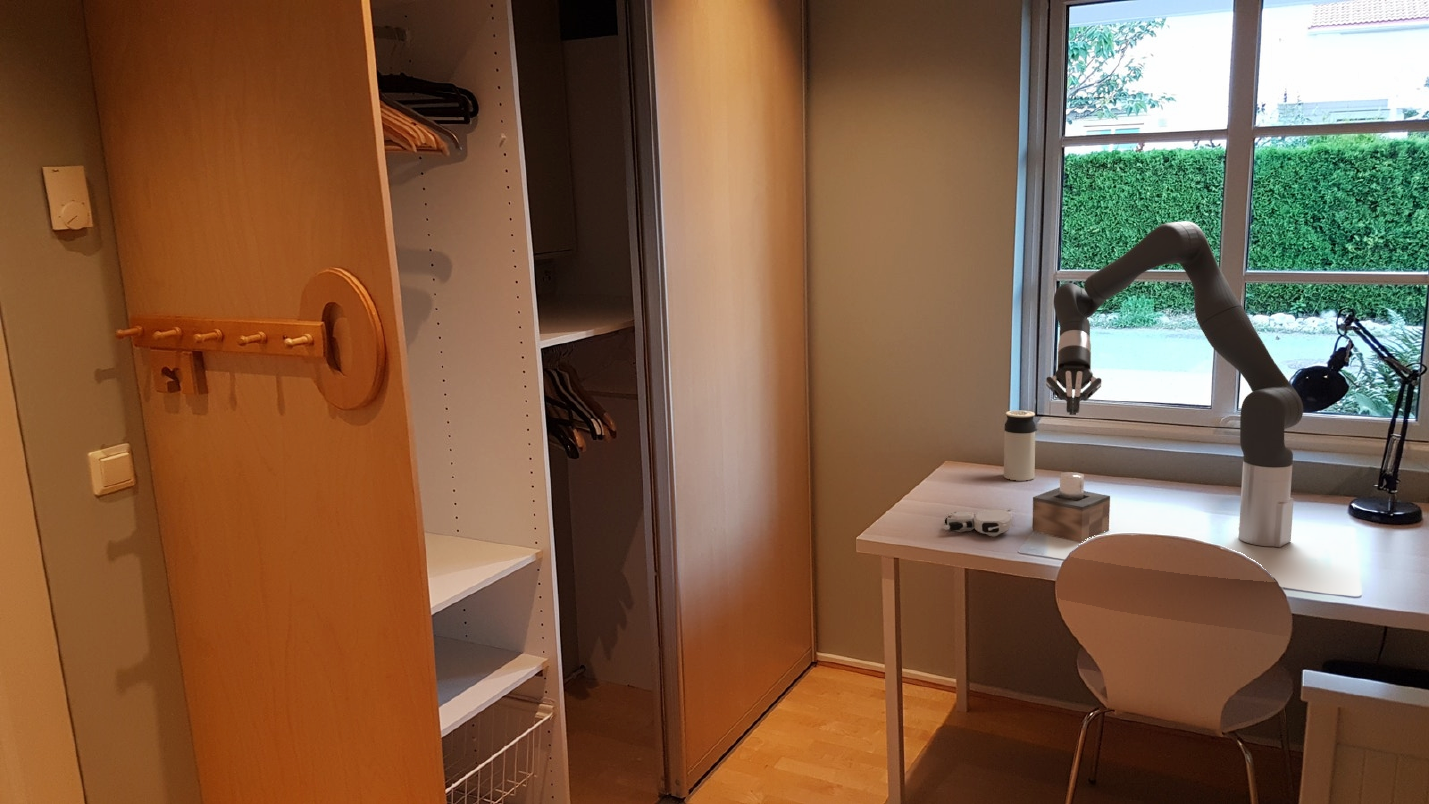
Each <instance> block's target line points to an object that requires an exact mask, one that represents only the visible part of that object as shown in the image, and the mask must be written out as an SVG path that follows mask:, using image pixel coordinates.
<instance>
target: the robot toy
mask: <svg viewBox="0 0 1429 804" xmlns="http://www.w3.org/2000/svg"><path fill="white" fill-rule="evenodd" d="M1010 512H1012V509H1011V508H1010V509H1007V510H1005V509H983V510H980V511H979V512H978V513H976V514H974V512H973V511H954V512H953V513H949V514H948V515H947V516H946V517H945V518H944V524H942V527H941V528H942V529H943V530H947V531H948V530H949V531H950V532H955V531H956V532H957V533H964V532H970V531H972V530H973V529H975V530H976V531H977V532H978V533H980V534H986V535H987V536H988V537H997V536H999V535H1000V534H1002V533H1006V532H1007V531H1008V530H1010V529H1011V527H1012V526H1013V516H1012V514H1011V513H1010Z"/></svg>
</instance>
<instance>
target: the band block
mask: <svg viewBox="0 0 1429 804" xmlns="http://www.w3.org/2000/svg"><path fill="white" fill-rule="evenodd" d="M1110 508H1111V495H1107V494H1101V493H1097V492H1091V491H1086V490H1084V492H1083V499H1082V500H1079V501H1077V502H1076V501H1071V500H1066V499H1061V498H1060V486H1059V487H1057V488H1054V489H1051V490H1048V491H1046V492H1043V493H1040V494H1038V495H1035V496H1033V497H1032V530H1031V531H1032V532H1035V533H1039V534H1043V535H1047V536H1051V537H1056V538H1061V539H1065V540H1069V541H1074V542H1078V543H1081V542H1082V541H1084V540H1085V539H1087V538H1089V537H1092V536H1094V535H1097V536H1099V535H1102V534H1104V533H1105V532H1104V531H1106V532H1109V531H1110V511H1111V509H1110ZM1084 542H1085V541H1084ZM1082 543H1083V542H1082Z"/></svg>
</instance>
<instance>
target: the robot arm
mask: <svg viewBox="0 0 1429 804" xmlns="http://www.w3.org/2000/svg"><path fill="white" fill-rule="evenodd" d="M1209 243H1210V242H1209V240H1208V239H1207V237H1206V235H1205V233H1204V231H1203V230H1202V229H1201V228H1200V226H1199V225H1197V224H1196V223H1194V222H1192V221H1188V220H1183V221H1173V222H1166V223H1162V224H1160V225H1158V226H1157V227H1155V228H1154V229H1152V230H1151V231H1150V232H1149V233H1148V234H1147V235H1146V236H1144V238H1142V239H1141V240H1140V241H1139V242H1137V244H1136V245H1134V246H1133V247H1132V248H1131V249H1130V250H1129V251H1127V252H1126V253H1124V254H1123V255H1122V256H1120V257H1118V259H1116V260H1114V261H1113V262H1110V263H1109V264H1108V265H1106V266H1104V267H1102V268H1101V269H1099V270H1097V271H1095V272H1094V273H1092V274H1091V275H1090V276H1088V277H1087V278H1086V279H1085V281H1084V283H1083V284H1084V285H1083V286H1084V287H1080V286H1079V285H1077V284H1074V283H1072V282H1066V283H1063V284H1061V285H1060V286H1059V287H1057V289H1056V290H1055V293H1054V295H1053V308H1054V313H1055V315H1056V319H1057V322H1058V324H1059V340H1058V345H1057V369H1056V371H1055V373H1054V375H1053V376H1047V377H1046V378H1045V379H1046V382H1045V384H1046V385H1045V386H1046V387H1047V388H1048V389H1049V390H1050V392H1052V394H1054V395H1055V397H1057V398H1058V399H1059V400H1060V401H1062V400H1063V401H1064V400H1065V402H1066V407H1065V409H1066V413H1069V416H1070V415H1071V416H1076V415H1077V414H1078V413H1079V412H1080V402H1081V401H1084V402H1085V401H1088V400H1089V399H1090V398H1091V397H1092V396H1093V395H1095V393H1096V392H1097V391H1098V390H1099V389H1100V388H1101V387H1102V381H1103V380H1102V378H1100V377H1097V378H1096V377H1095V376H1093V375H1094V374H1093V372H1092V370H1091V369H1092V368H1091V367H1092V362H1091V361H1092V359H1091V358H1092V351H1091V350H1092V344H1091V324H1090V323H1091V322H1090V321H1089V318H1090V317H1092V316H1093V315H1094V314H1095V313H1096V312H1097V310H1098V309H1099V308H1101V306H1102V305H1103V304H1104V303H1105V302H1106V301H1107V300H1108V299H1110V298H1112V297H1113V296H1116V295H1117V294H1119V293H1121V292H1122V291H1124V290H1125V289H1127V288H1128V287H1129V286H1131V284H1132V283H1133V282H1135V280H1136V279H1137V278H1138V277H1139V276H1141V275H1142V274H1144V273H1147V272H1148V271H1149V270H1153V269H1155V268H1158V267H1161V266H1164V265H1175V264H1180V265H1181V267H1182V269H1183V271H1184V272H1185V273H1186V275H1187V277H1188V279H1189V281H1190V283H1191V285H1192V288H1193V294H1194V298H1193V299H1194V314H1195V319H1196V321H1197V324H1198V326H1199V327H1200V329H1201V331H1202V333H1203V335H1204V337H1205V338H1206V339H1207V340H1206V341H1208V343H1209V344H1210V346H1211V347H1212V349H1213V350H1214V351H1216V353H1217V354H1218V355H1219V356H1220V357H1222V358H1223V359H1224V360H1226V361H1227V363H1229V364H1230V365H1231V366H1232V367H1233V368H1235V369H1236V371H1237V372H1239V373H1240V374H1241V376H1242V377H1243V378H1244V380H1245V381H1246V383H1247V384H1248V386H1249V388H1250V390H1251V392H1250V393H1249V394H1247V395H1246V396H1245V397H1244V400H1243V402H1242V405H1241V408H1240V414H1239V415H1240V416H1239V418H1240V420H1239V443H1240V444H1239V445H1240V448H1241V451H1242V453H1243V455H1242V457H1243V459H1242V460H1243V462H1242V475H1241V491H1240V492H1241V495H1240V506H1239V507H1240V508H1239V509H1240V510H1239V524H1238V526H1239V527H1238V539H1239V540H1240V541H1242V542H1244V543H1247V544H1250V545H1254V546H1255V545H1256V546H1260V547H1276V548H1282V547H1283V546H1285V545H1286V544H1288V543H1290V542H1291V541H1292V527H1293V526H1292V525H1293V514H1294V498H1293V497H1291V491H1292V488H1291V487H1292V476H1293V474H1292V473H1293V464H1294V462H1293V461H1294V453H1293V451H1292V450H1291V449H1289V448H1288V447H1286V445H1285V430H1286V429H1289V428H1292V427H1295V426H1296V425H1297V424H1298V423H1300V421H1301V420H1302V418H1303V416H1304V405H1303V401H1302V399H1301V397H1300V395H1299V394H1298V392H1297V391H1296V389H1295V388H1294V386H1293V385H1292V384H1291V382H1290V381H1289V380H1288V378H1287V377H1286V376H1285V374H1284V373H1283V371H1282V370H1281V369H1280V368H1279V366H1278V365H1277V364H1276V362H1275V361H1274V359H1273V357H1272V356H1271V354H1270V352H1269V350H1268V349H1267V348H1266V345H1265V344H1264V342H1263V340H1262V338H1261V336H1260V335H1259V334H1258V332H1257V330H1256V329H1255V327H1254V325H1253V323H1252V321H1251V319H1250V318H1249V316H1248V314H1247V312H1246V311H1245V309H1244V307H1243V306H1242V305H1243V304H1241V302H1240V301H1239V299H1238V297H1237V296H1236V295H1235V293H1234V291H1233V288H1231V286H1230V283H1229V282H1228V280H1227V279H1226V276H1225V275H1224V274H1223V273H1224V272H1222V270H1221V268H1220V265H1219V263H1218V262H1217V259H1216V257H1215V255H1214V252H1213V250H1212V248H1211V246H1210V244H1209ZM1058 383H1059V384H1060V385H1059V384H1058ZM1088 384H1089V386H1087V385H1088ZM1086 386H1087V387H1086ZM1085 387H1086V388H1085ZM1084 388H1085V389H1084ZM1064 389H1065V390H1064ZM1083 389H1084V390H1083ZM1073 390H1074V395H1073ZM1082 390H1083V391H1082Z"/></svg>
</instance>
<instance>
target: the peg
mask: <svg viewBox="0 0 1429 804" xmlns="http://www.w3.org/2000/svg"><path fill="white" fill-rule="evenodd" d="M1059 475H1060V477H1059V483H1060V484H1059V487H1060V498H1061V499H1066V500H1071V501H1076V502H1077V501H1079V500H1082V499H1083V492H1084V491H1085V490H1084V486H1085V475H1084V473H1080V472H1075V471H1073V472H1072V471H1067V472H1061V473H1060V474H1059Z"/></svg>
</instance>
